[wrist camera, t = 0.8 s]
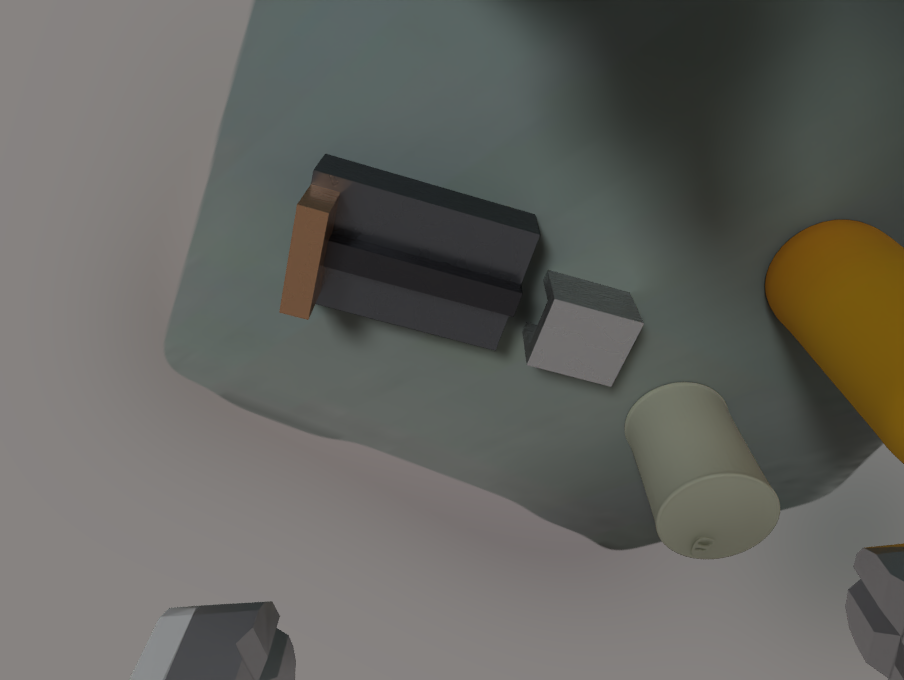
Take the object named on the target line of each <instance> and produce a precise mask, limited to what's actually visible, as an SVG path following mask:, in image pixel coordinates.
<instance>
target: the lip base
mask: <svg viewBox="0 0 904 680" xmlns="http://www.w3.org/2000/svg"><path fill="white" fill-rule="evenodd" d="M539 237H540V232H539V228H538V224H537V220H536V216H535V214H531V213H528V212H525V211H521V210H518V209H514V208H511V207H507V206H504V205H500V204H497V203H493V202H490V201H487V200H483V199H480V198H476V197H473V196H469V195H466V194H462V193H459V192H456V191H452V190H449V189H445V188H442V187H438V186H435V185H431V184H428V183H424V182H421V181H418V180H414V179H411V178H407V177H404V176H400V175H397V174H393V173H390V172H387V171H383V170H380V169H376V168H373V167H369V166H366V165H362V164H359V163H356V162H352V161H349V160H345V159H342V158H338V157H335V156H331V155H328V154H325V155H324V156H323V158H322V159H321V161H320V162H319V163H318V165H317V166H316V167H315V169H314V171H313V176H312V182H311V185H310V187H309V188H308V189H307V191H306V192H305V194H304V195H303V197H302V198H301V200H300V201H299V202H298V204H297V209H296V215H295V221H294V227H293V233H292V239H291V245H290V251H289V257H288V263H287V269H286V275H285V281H284V287H283V293H282V300H281V306H280V313H284V314H288V315H291V316H295V317H299V318H303V319H307V320H308V319H309V317H310V315H311V313H312V310H313V308H314V306H315V304H318V305H322V306H326V307H329V308H333V309H337V310H341V311H345V312H349V313H353V314H356V315H360V316H364V317H368V318H372V319H376V320H380V321H383V322H387V323H391V324H395V325H399V326H403V327H406V328H410V329H414V330H418V331H422V332H426V333H430V334H433V335H437V336H441V337H445V338H449V339H453V340H457V341H460V342H464V343H468V344H472V345H476V346H480V347H484V348H487V349H491V350H496V348H497V345H498V343H499V340H500V338H501V335H502V332H503V330H504V327H505V325H506V322H507V319H508V317H509V316H511V317H514V314H515V312H516V309H517V307H518V304H519V301H520V299H521V296H522V294H523V293H522V287H521V283H522V281H523V278H524V275H525V273H526V270H527V268H528V265H529V263H530V260H531V257H532V255H533V252H534V250H535V247H536V244H537V242H538V239H539Z"/></svg>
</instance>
